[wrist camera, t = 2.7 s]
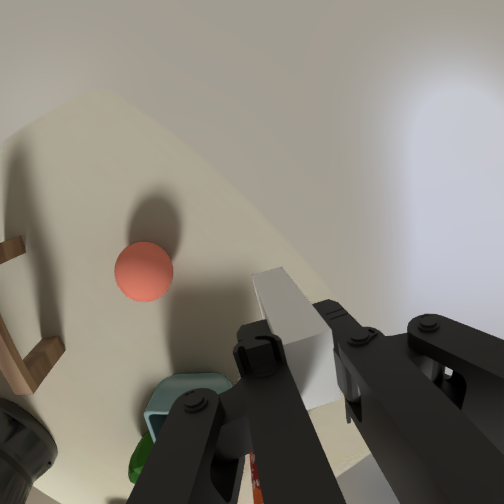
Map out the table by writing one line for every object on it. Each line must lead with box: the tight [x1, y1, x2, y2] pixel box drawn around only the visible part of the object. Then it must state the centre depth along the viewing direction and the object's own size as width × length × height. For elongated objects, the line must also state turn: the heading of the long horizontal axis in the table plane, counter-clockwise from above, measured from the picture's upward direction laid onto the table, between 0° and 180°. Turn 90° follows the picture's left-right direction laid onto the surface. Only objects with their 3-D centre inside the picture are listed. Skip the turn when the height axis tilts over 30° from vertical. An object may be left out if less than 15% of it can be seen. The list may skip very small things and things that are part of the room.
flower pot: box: [144, 373, 232, 443], centre depth 29 cm, size 9×9×9 cm
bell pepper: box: [128, 431, 154, 484], centre depth 30 cm, size 8×8×10 cm
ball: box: [115, 242, 173, 302], centre depth 27 cm, size 6×6×6 cm
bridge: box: [0, 236, 65, 395], centre depth 24 cm, size 3×14×9 cm, turn 14°
